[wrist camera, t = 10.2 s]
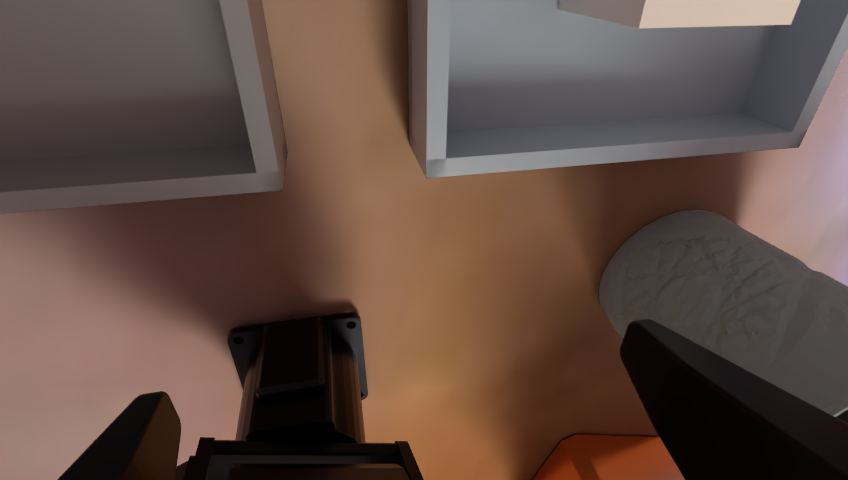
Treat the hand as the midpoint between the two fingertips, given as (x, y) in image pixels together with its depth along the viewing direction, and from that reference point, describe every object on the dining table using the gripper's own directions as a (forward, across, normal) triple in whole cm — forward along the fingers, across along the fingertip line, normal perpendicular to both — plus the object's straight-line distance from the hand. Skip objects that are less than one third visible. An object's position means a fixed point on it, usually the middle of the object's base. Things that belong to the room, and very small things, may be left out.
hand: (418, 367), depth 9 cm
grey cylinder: (+12, -17, +9) cm, 23 cm away
